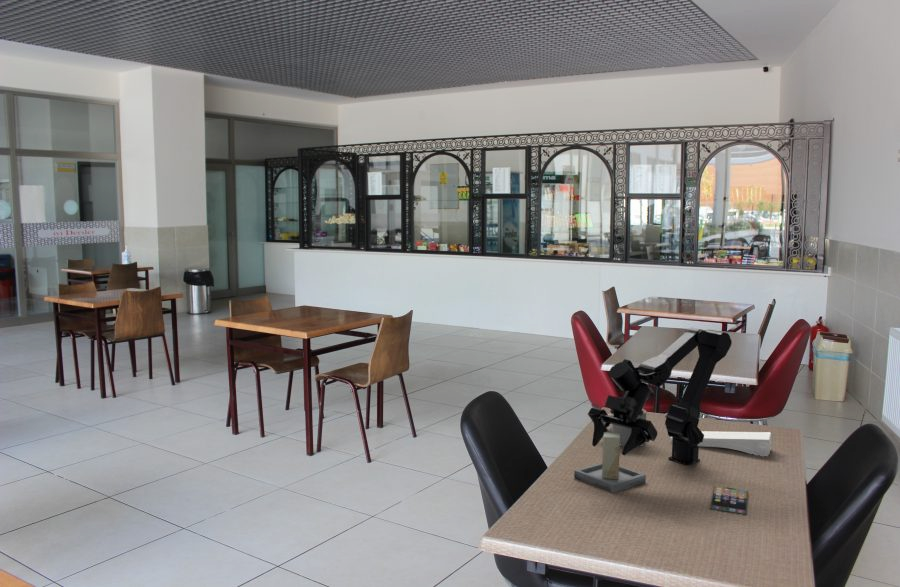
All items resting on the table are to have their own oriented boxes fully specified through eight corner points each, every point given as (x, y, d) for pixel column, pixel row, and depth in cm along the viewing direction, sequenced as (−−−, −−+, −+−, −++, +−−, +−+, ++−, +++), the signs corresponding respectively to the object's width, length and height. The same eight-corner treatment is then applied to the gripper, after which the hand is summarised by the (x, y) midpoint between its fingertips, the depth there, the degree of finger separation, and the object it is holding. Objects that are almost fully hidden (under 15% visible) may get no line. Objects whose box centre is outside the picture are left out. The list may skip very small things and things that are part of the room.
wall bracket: (672, 461, 223) (771, 464, 210) (669, 440, 221) (769, 442, 208) (677, 444, 231) (772, 447, 218) (674, 424, 229) (770, 425, 216)
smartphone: (709, 511, 171) (710, 506, 170) (713, 490, 184) (713, 485, 184) (746, 517, 167) (746, 512, 167) (747, 495, 181) (747, 490, 181)
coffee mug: (646, 439, 225) (647, 408, 224) (643, 448, 216) (644, 415, 215) (603, 434, 230) (604, 403, 229) (598, 443, 221) (599, 411, 220)
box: (618, 480, 186) (620, 438, 185) (601, 478, 187) (603, 437, 186) (618, 473, 191) (620, 432, 190) (602, 471, 192) (603, 431, 191)
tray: (574, 477, 190) (574, 470, 190) (606, 468, 198) (606, 461, 198) (612, 492, 180) (613, 485, 180) (645, 482, 188) (645, 474, 187)
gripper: (593, 377, 196) (566, 424, 190) (653, 390, 182) (626, 441, 176) (608, 401, 202) (583, 447, 196) (668, 415, 188) (643, 465, 182)
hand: (607, 449), depth 187 cm, fingers open, 9 cm apart
